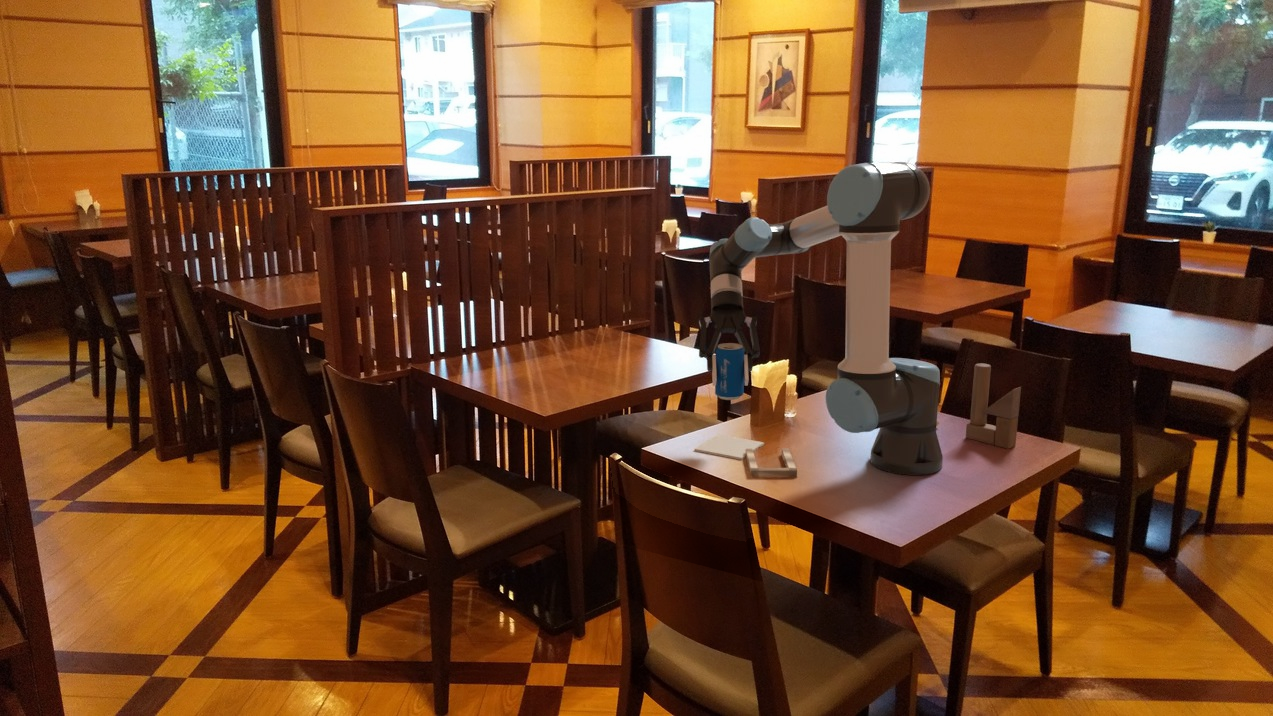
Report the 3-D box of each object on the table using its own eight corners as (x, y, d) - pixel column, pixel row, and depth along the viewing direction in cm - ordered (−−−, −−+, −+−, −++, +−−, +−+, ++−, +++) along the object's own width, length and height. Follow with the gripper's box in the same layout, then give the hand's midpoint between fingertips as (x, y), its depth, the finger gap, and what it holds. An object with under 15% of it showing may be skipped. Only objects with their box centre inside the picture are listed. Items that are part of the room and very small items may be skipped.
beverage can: (710, 398, 204) (711, 347, 201) (721, 391, 209) (722, 341, 207) (737, 402, 201) (738, 350, 198) (747, 395, 206) (748, 344, 204)
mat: (763, 444, 210) (763, 442, 210) (741, 459, 200) (741, 457, 200) (717, 436, 216) (718, 434, 216) (694, 450, 206) (694, 448, 206)
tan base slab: (745, 454, 203) (745, 448, 203) (788, 454, 203) (788, 448, 202) (751, 477, 189) (751, 470, 189) (796, 477, 189) (797, 470, 189)
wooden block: (1008, 449, 204) (1015, 373, 200) (964, 438, 212) (970, 364, 208) (1016, 445, 207) (1023, 370, 202) (973, 434, 215) (979, 362, 210)
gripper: (766, 306, 215) (772, 390, 204) (685, 307, 216) (686, 390, 204) (769, 288, 209) (775, 374, 197) (686, 289, 210) (687, 374, 198)
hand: (730, 382), depth 201 cm, fingers closed on beverage can, 6 cm apart
